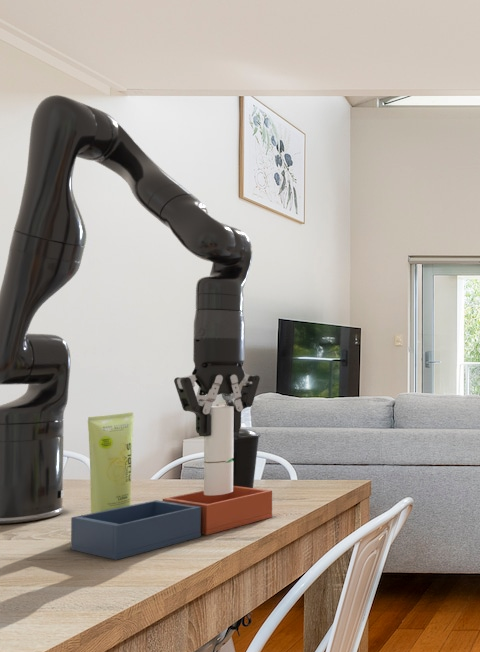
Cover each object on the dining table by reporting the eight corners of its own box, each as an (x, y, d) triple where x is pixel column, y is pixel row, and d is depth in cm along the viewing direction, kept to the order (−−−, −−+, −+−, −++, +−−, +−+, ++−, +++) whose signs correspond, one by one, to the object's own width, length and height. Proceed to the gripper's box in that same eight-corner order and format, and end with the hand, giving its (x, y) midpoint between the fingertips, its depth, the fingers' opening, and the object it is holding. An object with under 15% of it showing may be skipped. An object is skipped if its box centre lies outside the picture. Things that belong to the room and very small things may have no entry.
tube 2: (211, 496, 98) (211, 408, 98) (199, 493, 100) (199, 407, 100) (237, 491, 101) (238, 406, 101) (225, 488, 104) (226, 405, 104)
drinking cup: (267, 502, 114) (268, 402, 114) (225, 511, 107) (226, 404, 108) (247, 498, 118) (248, 400, 118) (206, 505, 112) (207, 403, 112)
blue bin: (70, 549, 86) (71, 517, 86) (156, 528, 97) (156, 500, 97) (116, 560, 81) (116, 526, 81) (200, 536, 92) (201, 506, 92)
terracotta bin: (162, 527, 97) (162, 498, 98) (229, 510, 108) (229, 485, 108) (206, 535, 93) (206, 505, 93) (272, 517, 104) (272, 490, 104)
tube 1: (127, 535, 93) (129, 414, 93) (86, 540, 90) (87, 416, 90) (132, 526, 98) (133, 412, 98) (93, 531, 95) (94, 413, 95)
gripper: (244, 338, 109) (243, 429, 109) (162, 335, 96) (161, 438, 96) (271, 337, 106) (271, 430, 106) (190, 334, 93) (189, 440, 93)
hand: (218, 433), depth 101 cm, fingers closed on tube 2, 4 cm apart
